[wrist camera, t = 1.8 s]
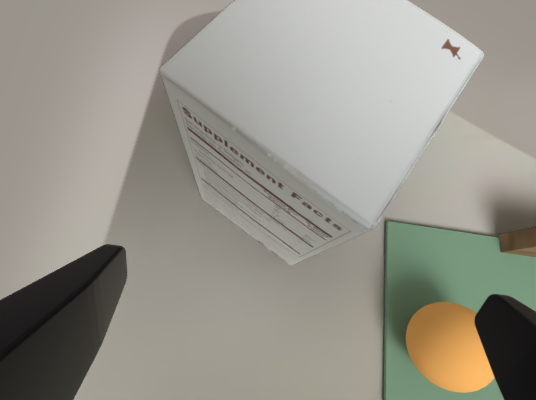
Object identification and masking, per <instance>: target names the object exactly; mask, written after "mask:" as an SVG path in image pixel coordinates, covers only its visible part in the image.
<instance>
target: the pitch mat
mask: <svg viewBox="0 0 536 400" xmlns="http://www.w3.org/2000/svg"><path fill="white" fill-rule="evenodd" d="M491 294H501V295H508V296H511V297H513V298H515V299H516V300H518V301H519V302H521V303H523V304H524V305H526V306H528V307H529V308H531V309H532V310H534V311H536V257H530V256H523V255H516V254H509V253H502V252H500V241H499V237H492V236H485V235H478V234H472V233H465V232H458V231H451V230H445V229H438V228H431V227H425V226H418V225H411V224H404V223H398V222H391V221H387V222H386V229H385V314H384V399H383V400H504V398H503V396H502V394H501V392H500V389H499V387H498V385H497V382H496V380H495V378H494V379H493V380H492V381H491V382H490V383H489V384H488V385H487V386H486V387H484V388H482V389H480V390H477V391H474V392H467V393H460V392H453V391H449V390H446V389H443V388H441V387H439V386H437V385H435V384H433V383H432V382H430V381H429V380H428V379H427V378H425V377H424V376H423V375H422V374H421V373H420V372H419V371H418V369H417V368H416V366H415V365H414V364H413V362H412V360H411V358H410V356H409V353H408V350H407V345H406V330H407V326H408V324H409V322H410V320H411V318H412V316H413V315H414V314H415V313H416V312H417V311H418V310H419V309H421V308H422V307H424V306H426V305H429V304H432V303H436V302H451V303H456V304H459V305H462V306H465V307H467V308H469V309H471V310H473V311H474V312H476V313H477V312H478V311H479V309H480V308H481V306H482V305H483V303H484V302H485V300H486V299H487V297H488V296H489V295H491Z"/></svg>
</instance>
